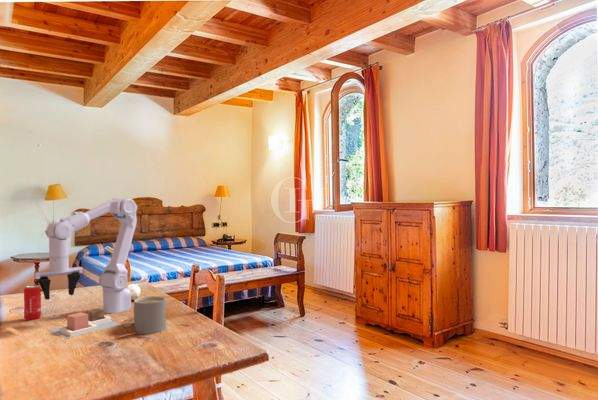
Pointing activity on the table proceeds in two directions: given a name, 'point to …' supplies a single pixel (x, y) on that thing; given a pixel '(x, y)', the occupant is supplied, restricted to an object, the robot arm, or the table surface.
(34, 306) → the beverage can
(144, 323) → the coffee mug
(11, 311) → the table surface
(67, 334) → the board
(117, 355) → the table surface
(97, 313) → the walnut cube
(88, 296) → the table surface
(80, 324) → the brick-red block
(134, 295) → the ornament
